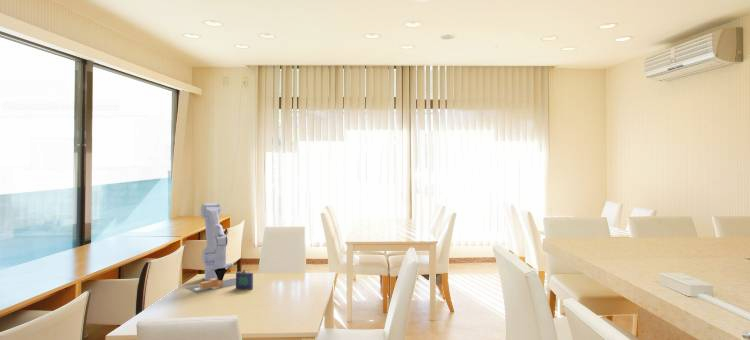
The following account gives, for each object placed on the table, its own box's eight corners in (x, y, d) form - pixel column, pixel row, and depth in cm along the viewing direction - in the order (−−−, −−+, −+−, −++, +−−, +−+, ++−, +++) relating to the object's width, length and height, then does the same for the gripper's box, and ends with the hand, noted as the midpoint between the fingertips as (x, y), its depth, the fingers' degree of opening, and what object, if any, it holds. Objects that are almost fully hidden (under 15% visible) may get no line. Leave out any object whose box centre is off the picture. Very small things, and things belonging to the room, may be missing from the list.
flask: (253, 288, 247) (253, 268, 247) (251, 290, 244) (251, 270, 244) (236, 288, 248) (236, 268, 247) (234, 289, 245) (234, 269, 245)
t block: (214, 283, 256) (214, 277, 256) (223, 286, 249) (223, 281, 249) (197, 286, 248) (197, 281, 248) (205, 290, 242) (205, 284, 242)
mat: (237, 278, 268) (237, 277, 268) (250, 282, 259) (250, 282, 259) (185, 288, 246) (185, 287, 246) (196, 293, 236) (196, 293, 236)
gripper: (211, 260, 245) (211, 285, 245) (236, 256, 255) (236, 280, 256) (205, 258, 250) (205, 283, 250) (229, 254, 260) (229, 278, 261)
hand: (220, 282), depth 253 cm, fingers closed
